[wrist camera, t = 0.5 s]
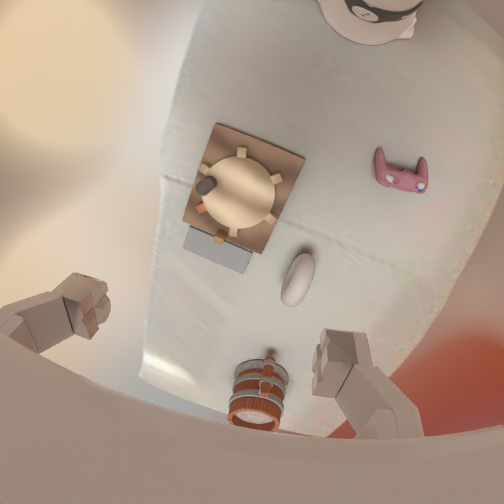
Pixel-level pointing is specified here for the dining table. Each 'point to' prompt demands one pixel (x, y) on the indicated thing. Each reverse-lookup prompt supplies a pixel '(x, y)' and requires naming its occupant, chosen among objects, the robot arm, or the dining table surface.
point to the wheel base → (265, 153)
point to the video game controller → (401, 175)
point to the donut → (298, 280)
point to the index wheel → (238, 191)
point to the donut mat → (217, 250)
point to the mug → (258, 395)
